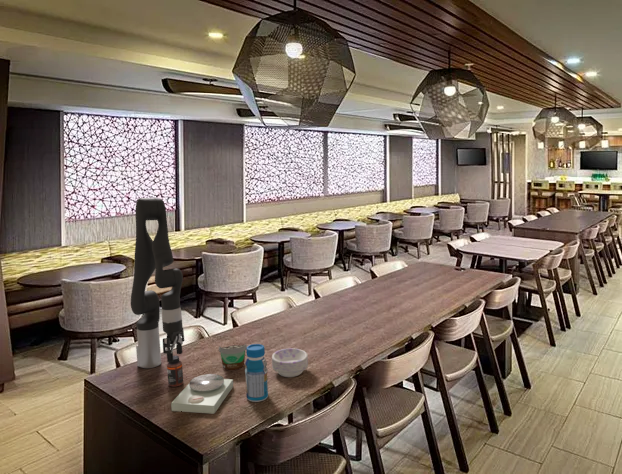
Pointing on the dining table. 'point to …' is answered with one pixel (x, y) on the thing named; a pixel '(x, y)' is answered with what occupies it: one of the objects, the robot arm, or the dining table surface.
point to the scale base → (201, 399)
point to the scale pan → (206, 382)
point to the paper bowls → (290, 362)
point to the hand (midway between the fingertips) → (175, 357)
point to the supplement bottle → (175, 372)
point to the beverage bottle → (256, 373)
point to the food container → (233, 357)
